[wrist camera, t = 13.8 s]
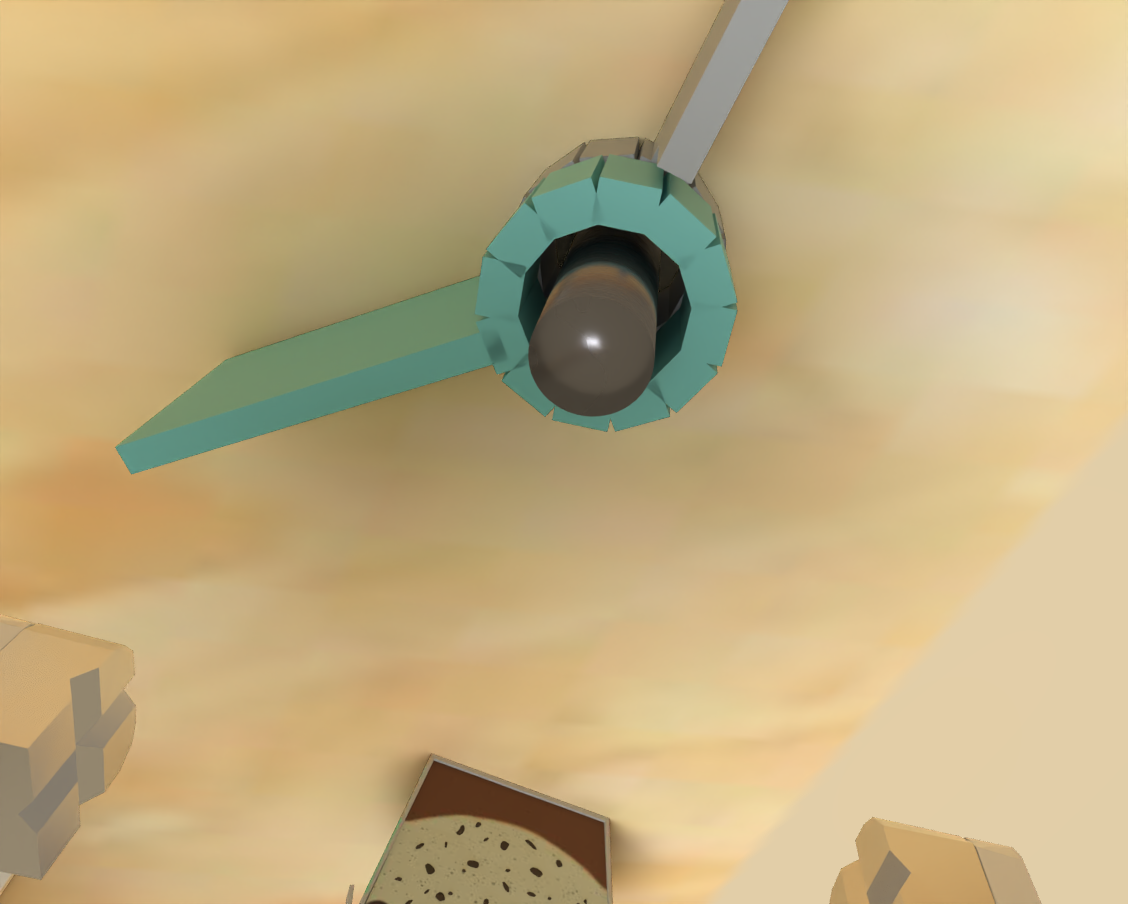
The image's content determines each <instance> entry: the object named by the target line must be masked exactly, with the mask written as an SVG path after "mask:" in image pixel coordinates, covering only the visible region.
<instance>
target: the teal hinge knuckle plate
mask: <svg viewBox="0 0 1128 904" xmlns="http://www.w3.org/2000/svg"><path fill="white" fill-rule="evenodd" d="M663 174H664V170H663V169H661V168H659V167H657V164H655V163H651V162H646V161H641V160H636V159H631V158H627V157H622V156H617V155H612V154H609V157H608V159H607V161H606V163H605V162H604V159H603V156H602V155H599V156H596V157H593V158H591V159H588V160H585V161H582V162H579V163H576V164H574V165H571V166H568V167H565V168H562V169H559V170H557V171H554V172H551V173H550V174H549V175H548V176H547V178H543V179H542V180H541V181H540V183H539V184H538V185H537V186H536V187H535V189H534V190H533V191H532V192H531V194H530V195H529V196H528V197H527V198H526V200H525V201H524V202H523V203H522V205H521V206H520V207H519V208H518V209H517V211H516V212H515V213H514V214H513V215H512V217H511V218H510V219H509V220H508V222H507V223H506V224H505V226H504V227H503V228H502V229H501V231H500V232H499V233H498V235H497V236H496V237H495V239H494V240H493V241H492V242H491V244H490V245H489V246H488V248H487V249H486V250H487V252H486V253H485V255H484V256H483V259H482V266H481V273H480V276H477V277H474V278H471V279H468V280H465V281H462V282H459V283H456V284H453V285H450V286H447V287H444V288H441V289H438V290H435V291H432V292H429V293H426V294H423V295H420V296H417V297H414V298H411V299H408V300H405V301H402V302H399V303H396V304H393V305H390V306H387V307H384V308H381V309H378V310H375V311H372V312H369V313H366V314H363V315H360V316H356V317H353V318H350V319H347V320H344V321H341V322H338V323H335V324H332V325H329V326H326V327H323V328H320V329H317V330H314V331H311V332H308V333H305V334H302V335H299V336H296V337H293V338H290V339H287V340H284V341H281V342H278V343H275V344H272V345H269V346H266V347H263V348H260V349H257V350H254V351H251V352H248V353H245V354H242V355H239V356H236V357H233V358H230V359H227V360H225V361H224V362H223V363H221V364H220V365H219V366H217V367H216V368H215V369H214V370H212V371H211V372H210V373H209V374H207V375H206V376H205V377H203V378H202V379H201V380H200V381H198V382H197V383H196V384H195V385H193V386H192V387H191V388H190V389H188V390H187V391H186V392H184V393H183V394H182V395H181V396H179V397H178V398H177V399H176V400H174V401H173V402H172V403H170V404H169V405H168V406H167V407H165V408H164V409H163V410H162V411H160V412H159V413H158V414H156V415H155V416H154V417H153V418H151V419H150V420H149V421H148V422H146V423H145V424H144V425H143V426H141V427H140V428H139V429H137V430H136V431H135V432H134V433H132V434H131V435H130V436H129V437H127V438H126V439H125V440H123V441H122V442H121V443H120V444H118V445H117V446H116V447H115V448H116V450H117V451H118V453H119V455H120V456H121V458H122V460H123V461H124V463H125V464H126V466H127V468H128V469H129V471H130V473H131V474H134V473H138V472H141V471H144V470H148V469H151V468H154V467H157V466H161V465H164V464H167V463H171V462H174V461H177V460H180V459H184V458H187V457H190V456H194V455H197V454H200V453H203V452H207V451H210V450H213V449H217V448H220V447H223V446H226V445H230V444H233V443H236V442H240V441H243V440H246V439H249V438H253V437H256V436H259V435H263V434H266V433H269V432H273V431H276V430H279V429H282V428H286V427H289V426H292V425H296V424H299V423H302V422H305V421H309V420H312V419H315V418H319V417H322V416H325V415H328V414H332V413H335V412H338V411H342V410H345V409H348V408H351V407H355V406H358V405H361V404H365V403H368V402H371V401H374V400H378V399H381V398H384V397H388V396H391V395H394V394H398V393H401V392H404V391H407V390H411V389H414V388H417V387H421V386H424V385H427V384H430V383H434V382H437V381H440V380H444V379H447V378H450V377H453V376H457V375H460V374H463V373H467V372H470V371H473V370H476V369H480V368H483V367H486V366H490V365H493V366H494V369H495V371H496V374H501V373H504V372H505V374H504V377H503V379H502V382H503V383H505V384H506V385H507V386H508V387H510V388H511V389H512V390H513V391H514V392H516V393H517V394H518V395H519V396H521V397H522V398H523V399H524V400H525V401H527V402H528V403H529V404H530V405H531V406H533V407H534V408H535V409H536V410H538V411H539V412H540V413H541V414H542V415H544V416H546V415H547V414H548V413H549V412H550V411H551V410H552V409H553V408H554V407H555V408H554V413H553V418H552V420H554V421H559V422H563V423H568V424H573V425H577V426H582V427H587V428H591V429H596V430H601V431H605V432H607V431H608V427H609V422H610V419H611V421H612V424H613V427H614V430H615V432H616V431H620V430H623V429H627V428H630V427H634V426H638V425H641V424H645V423H649V422H652V421H656V420H660V419H663V418H667V417H670V408H671V409H673V410H674V411H675V412H676V413H677V412H678V411H679V410H680V409H681V408H682V407H683V406H684V405H685V404H686V403H687V402H688V401H689V400H690V399H691V398H692V397H693V396H694V395H696V394H697V393H698V392H699V391H700V390H701V389H702V388H703V387H704V386H705V385H706V384H707V383H708V382H709V381H710V380H711V379H712V378H713V377H714V376H715V375H716V374H717V366H722V363H723V360H724V356H725V353H726V349H727V346H728V342H729V338H730V335H731V331H732V328H733V324H734V321H735V317H736V314H737V306H736V303H737V298H736V293H735V288H734V284H733V279H732V274H731V270H730V265H729V261H728V258H727V254H726V250H725V247H724V243H723V240H722V236H721V233H720V229H719V226H718V222H717V218H716V215H715V213H713V214H712V209H711V206H710V205H709V204H708V203H707V202H706V201H705V200H704V199H703V198H702V197H700V196H699V195H698V194H697V193H696V192H695V191H694V190H693V189H692V188H691V187H690V186H689V185H688V184H687V183H685V182H684V181H683V180H682V179H681V178H679V177H677V176H675V175H673V174H671V173H669V172H668V173H667V174H666V175H665V176H664V177H663ZM595 225H603V226H607V227H612V228H617V229H622V230H626V231H631V232H636V233H641V234H645V235H646V236H647V237H648V238H649V239H650V240H651V241H652V242H653V243H655V244H656V245H657V246H658V247H659V248H660V249H661V250H662V251H663V252H664V253H666V254H667V255H668V256H669V257H670V258H671V259H672V260H673V261H674V262H675V263H677V264H678V265H679V268H680V271H681V275H682V278H683V281H684V285H685V290H684V294H683V298H682V302H681V306H680V308H679V309H678V310H677V311H676V312H675V313H674V314H673V316H672V317H671V318H670V319H669V320H668V321H667V322H666V323H665V324H664V325H663V326H662V327H661V328H660V329H659V330H658V331H657V332H656V342H655V359H654V368H653V373H652V376H651V379H650V382H649V384H648V385H647V387H646V389H645V390H644V392H643V393H642V394H641V396H640V397H639V398H638V399H637V400H636V401H635V402H633V403H632V404H631V405H629V406H628V407H626V408H624V409H623V410H621V411H618V412H616V413H613V414H610V415H605V416H596V417H589V416H581V415H576V414H573V413H570V412H567V411H565V410H563V409H561V408H559V407H558V406H556V405H554V404H553V403H552V402H551V401H549V400H548V399H547V398H546V397H545V396H544V395H543V394H542V392H541V391H540V390H539V388H538V387H537V385H536V383H535V381H534V379H533V377H532V374H531V371H530V367H529V360H528V349H529V343H530V340H531V336H532V334H533V331H534V329H535V327H536V325H537V322H538V320H539V318H540V315H541V313H542V311H543V309H544V306H545V304H546V300H545V297H544V294H543V291H542V289H541V286H540V283H539V281H538V278H537V277H538V272H539V266H540V260H541V254H542V253H543V252H544V251H545V249H546V248H547V247H548V246H549V245H550V244H551V242H552V241H553V240H554V239H557V238H560V237H563V236H566V235H568V234H571V233H574V232H577V231H580V230H583V229H586V228H589V227H592V226H595Z"/></svg>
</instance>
